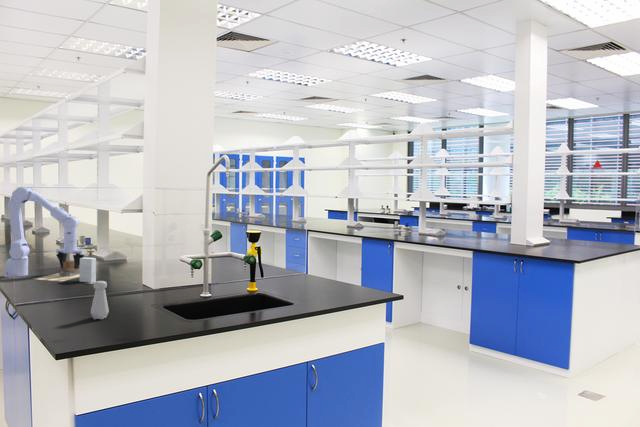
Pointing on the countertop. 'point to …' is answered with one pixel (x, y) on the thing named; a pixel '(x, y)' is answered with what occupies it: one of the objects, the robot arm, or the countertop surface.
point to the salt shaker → (99, 301)
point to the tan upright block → (68, 266)
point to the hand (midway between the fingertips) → (69, 268)
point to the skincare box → (87, 270)
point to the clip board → (61, 276)
